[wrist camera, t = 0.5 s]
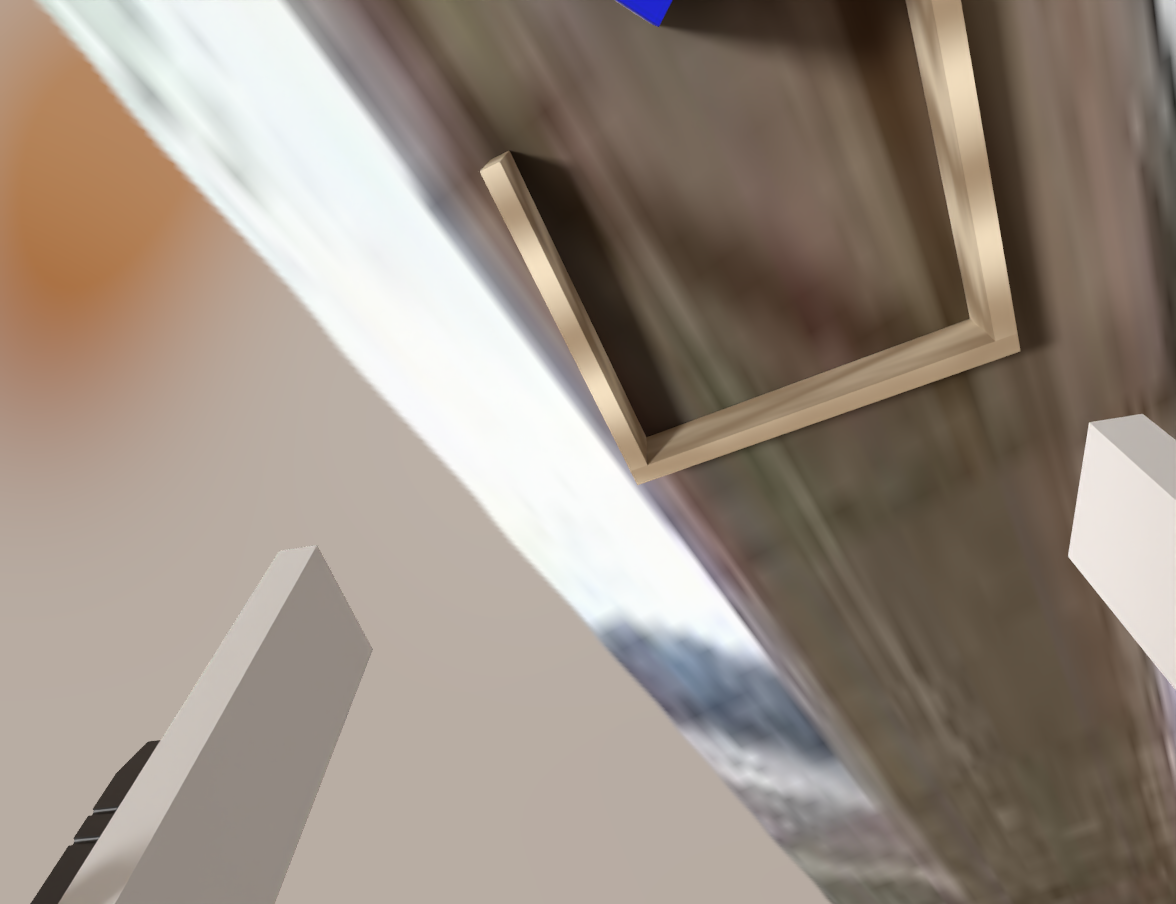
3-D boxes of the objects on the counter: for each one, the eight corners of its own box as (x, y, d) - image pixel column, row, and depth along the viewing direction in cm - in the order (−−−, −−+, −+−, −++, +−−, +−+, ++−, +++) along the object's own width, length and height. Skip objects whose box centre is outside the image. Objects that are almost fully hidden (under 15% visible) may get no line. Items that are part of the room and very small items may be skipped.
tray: (490, 159, 34) (479, 171, 32) (921, -57, 29) (950, -63, 27) (637, 456, 42) (637, 485, 40) (993, 328, 37) (1020, 351, 35)
